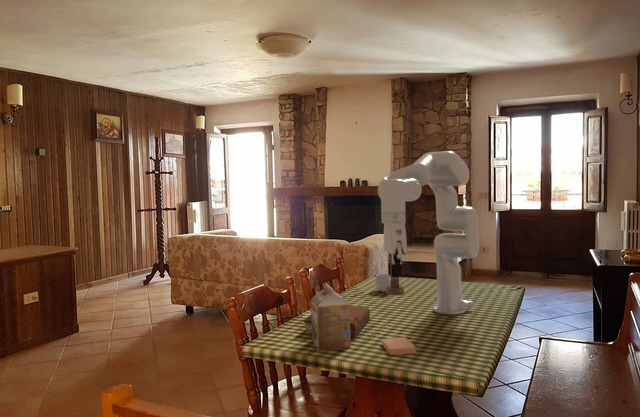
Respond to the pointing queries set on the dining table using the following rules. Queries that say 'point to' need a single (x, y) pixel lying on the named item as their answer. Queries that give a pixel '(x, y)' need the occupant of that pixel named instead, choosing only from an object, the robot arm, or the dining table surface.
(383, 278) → the teacup
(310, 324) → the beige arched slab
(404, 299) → the dining table surface
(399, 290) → the post
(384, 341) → the tile
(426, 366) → the dining table surface
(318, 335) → the milk carton
